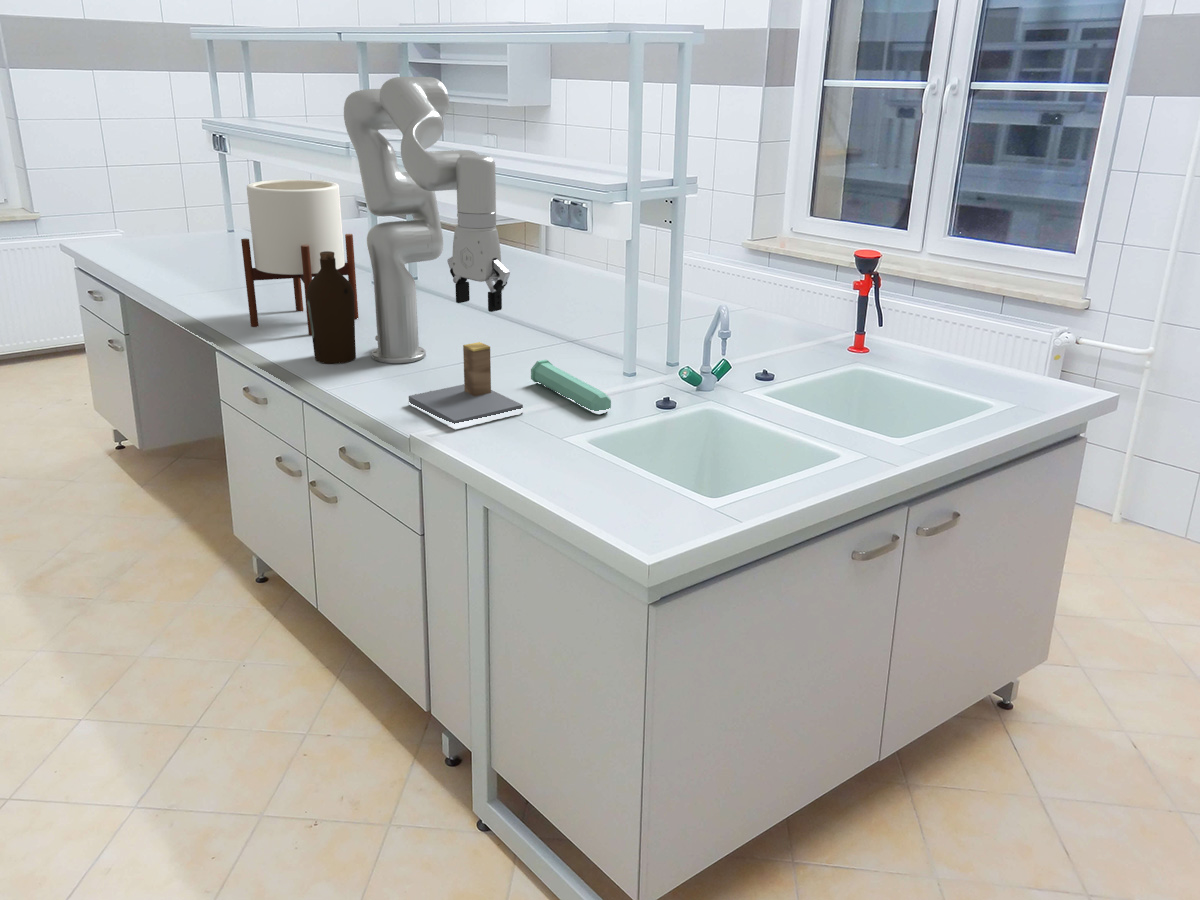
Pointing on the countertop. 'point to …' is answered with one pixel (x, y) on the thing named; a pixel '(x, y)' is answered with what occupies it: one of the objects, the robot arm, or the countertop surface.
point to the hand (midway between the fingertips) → (478, 306)
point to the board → (462, 404)
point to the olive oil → (331, 313)
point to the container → (569, 386)
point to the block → (477, 369)
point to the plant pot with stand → (294, 236)
